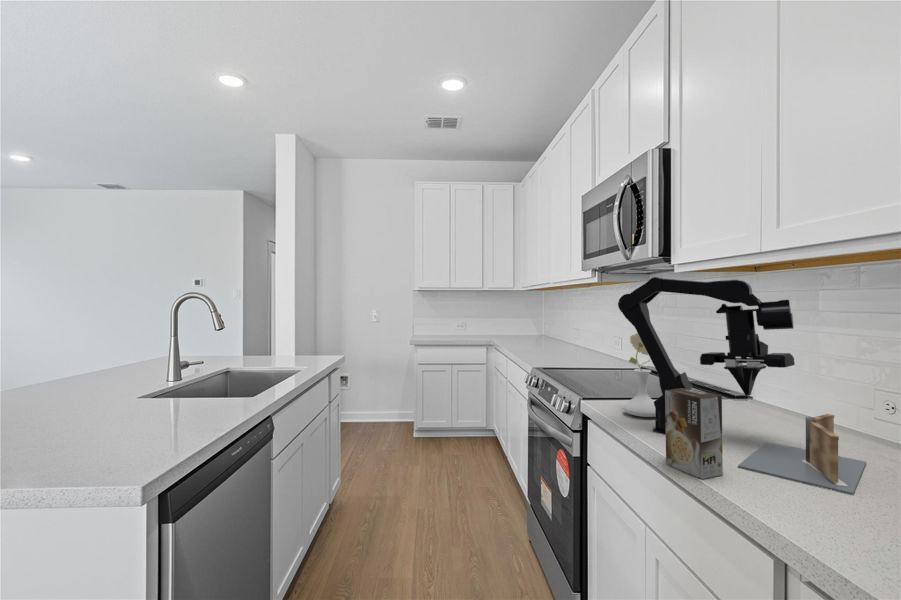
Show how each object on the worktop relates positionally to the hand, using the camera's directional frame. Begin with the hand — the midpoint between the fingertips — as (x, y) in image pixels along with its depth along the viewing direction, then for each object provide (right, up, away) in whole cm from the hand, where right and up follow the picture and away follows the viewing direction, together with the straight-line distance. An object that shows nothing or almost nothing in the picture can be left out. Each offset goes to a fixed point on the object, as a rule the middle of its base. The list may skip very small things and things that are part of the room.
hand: (747, 395), depth 107 cm
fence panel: (+3, -11, -19) cm, 22 cm away
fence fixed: (+9, -12, -11) cm, 18 cm away
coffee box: (-22, -12, -15) cm, 29 cm away
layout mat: (+3, -12, -13) cm, 18 cm away
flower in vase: (-13, -12, +29) cm, 34 cm away
